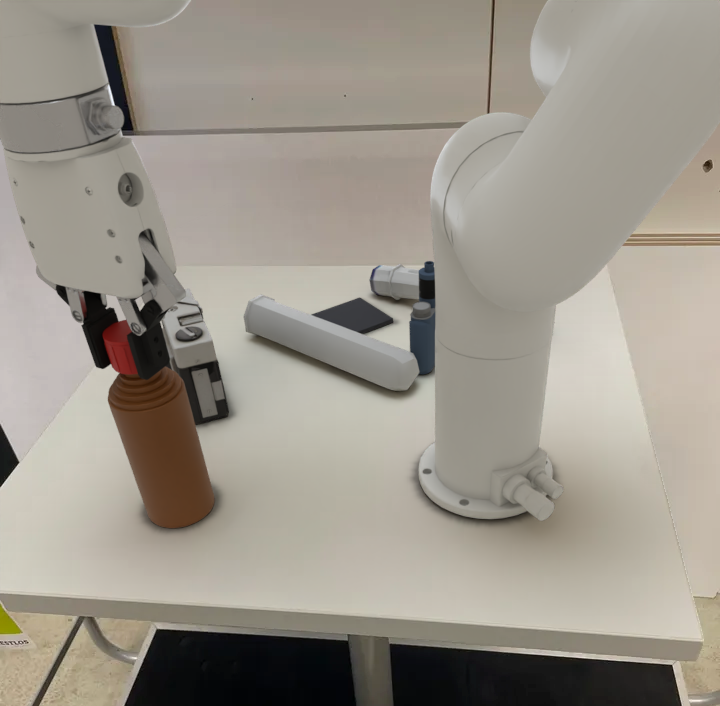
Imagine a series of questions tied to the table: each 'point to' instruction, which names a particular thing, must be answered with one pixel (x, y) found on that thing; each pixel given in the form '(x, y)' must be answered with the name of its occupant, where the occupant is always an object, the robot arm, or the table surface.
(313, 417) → the table surface
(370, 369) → the tube
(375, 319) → the mat
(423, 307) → the vaping device
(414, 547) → the table surface
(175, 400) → the bottle
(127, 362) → the cap
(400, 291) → the white faceted cylinder
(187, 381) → the camera
